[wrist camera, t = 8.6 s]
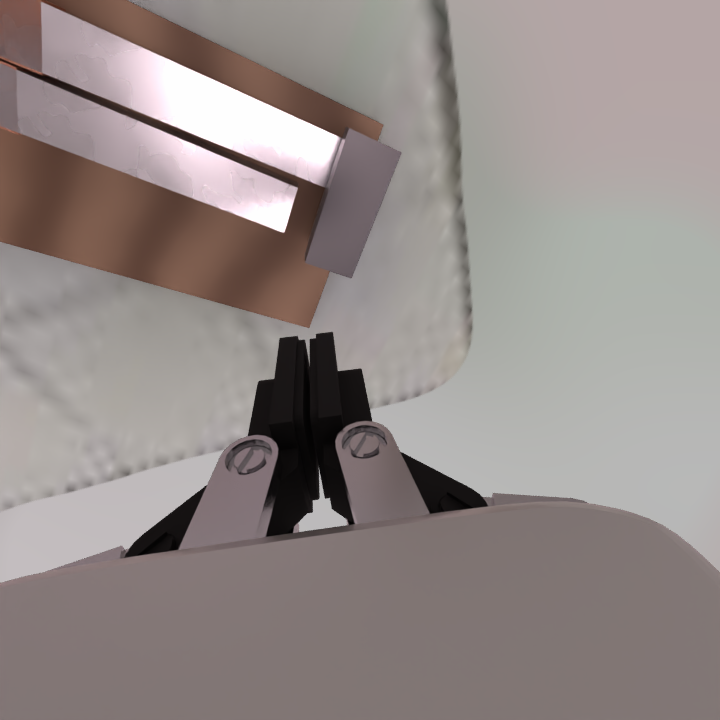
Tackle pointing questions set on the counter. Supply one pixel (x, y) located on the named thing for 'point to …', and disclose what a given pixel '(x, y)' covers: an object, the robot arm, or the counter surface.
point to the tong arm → (140, 147)
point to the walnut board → (165, 207)
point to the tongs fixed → (161, 89)
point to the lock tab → (350, 202)
